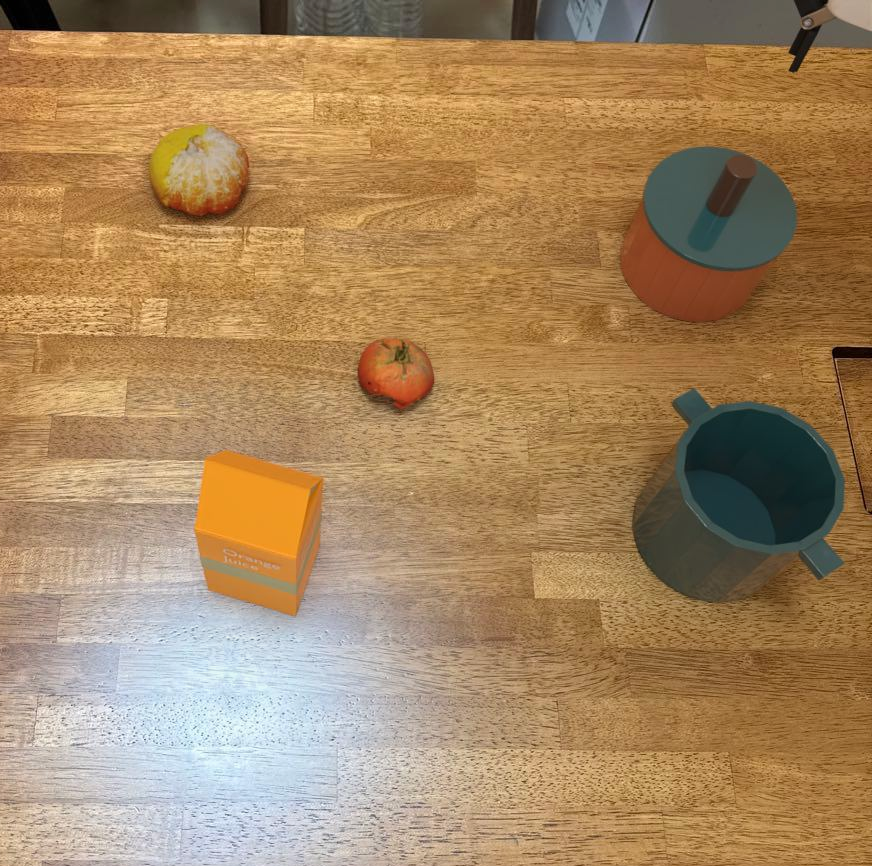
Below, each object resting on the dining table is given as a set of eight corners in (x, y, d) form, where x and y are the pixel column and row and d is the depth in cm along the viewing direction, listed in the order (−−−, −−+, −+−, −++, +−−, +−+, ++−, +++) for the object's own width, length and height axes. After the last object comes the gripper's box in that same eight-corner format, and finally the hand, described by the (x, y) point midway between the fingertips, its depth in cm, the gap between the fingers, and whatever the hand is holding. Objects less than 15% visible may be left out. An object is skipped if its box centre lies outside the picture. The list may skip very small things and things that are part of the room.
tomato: (453, 396, 103) (411, 370, 98) (402, 434, 106) (358, 411, 101) (429, 339, 107) (387, 311, 102) (380, 378, 110) (337, 352, 105)
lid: (724, 134, 109) (750, 83, 103) (823, 235, 104) (856, 189, 98) (610, 191, 105) (629, 142, 99) (706, 299, 100) (733, 255, 94)
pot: (698, 421, 105) (748, 354, 93) (830, 578, 98) (901, 526, 87) (585, 487, 101) (623, 425, 90) (715, 653, 95) (773, 609, 83)
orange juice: (296, 618, 95) (296, 533, 76) (206, 590, 96) (185, 500, 77) (320, 544, 98) (326, 445, 79) (233, 518, 99) (219, 415, 80)
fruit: (182, 242, 111) (162, 177, 104) (145, 198, 117) (124, 134, 110) (272, 201, 113) (258, 135, 107) (231, 160, 119) (215, 95, 113)
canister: (696, 192, 116) (727, 132, 108) (783, 285, 112) (822, 230, 103) (592, 245, 113) (616, 188, 105) (678, 344, 108) (709, 292, 100)
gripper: (1108, -106, 70) (962, 91, 86) (866, -186, 73) (768, 19, 89) (1085, -40, 68) (939, 151, 84) (835, -127, 71) (739, 74, 87)
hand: (851, 82), depth 86 cm, fingers open, 9 cm apart
